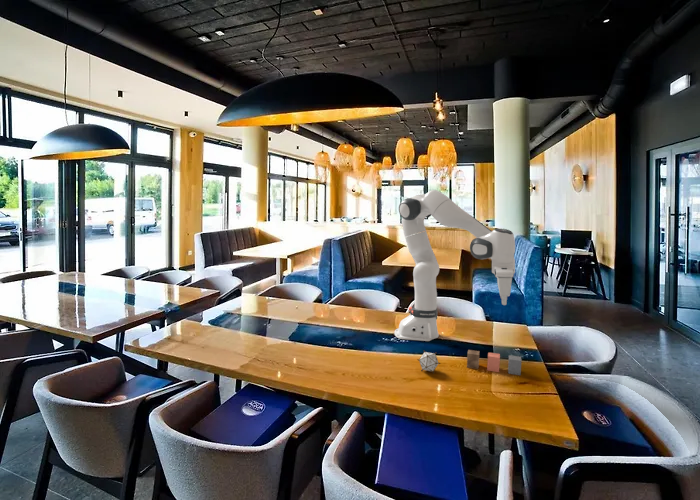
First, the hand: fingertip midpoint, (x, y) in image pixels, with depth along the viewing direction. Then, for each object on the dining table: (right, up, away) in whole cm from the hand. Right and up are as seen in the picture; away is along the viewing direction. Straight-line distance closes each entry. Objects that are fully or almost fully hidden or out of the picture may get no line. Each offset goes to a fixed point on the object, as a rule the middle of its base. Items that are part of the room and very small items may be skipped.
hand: (503, 301), depth 163 cm
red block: (-5, -28, -2) cm, 28 cm away
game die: (-32, -28, -4) cm, 42 cm away
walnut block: (-12, -27, +1) cm, 30 cm away
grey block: (+3, -28, -4) cm, 28 cm away
